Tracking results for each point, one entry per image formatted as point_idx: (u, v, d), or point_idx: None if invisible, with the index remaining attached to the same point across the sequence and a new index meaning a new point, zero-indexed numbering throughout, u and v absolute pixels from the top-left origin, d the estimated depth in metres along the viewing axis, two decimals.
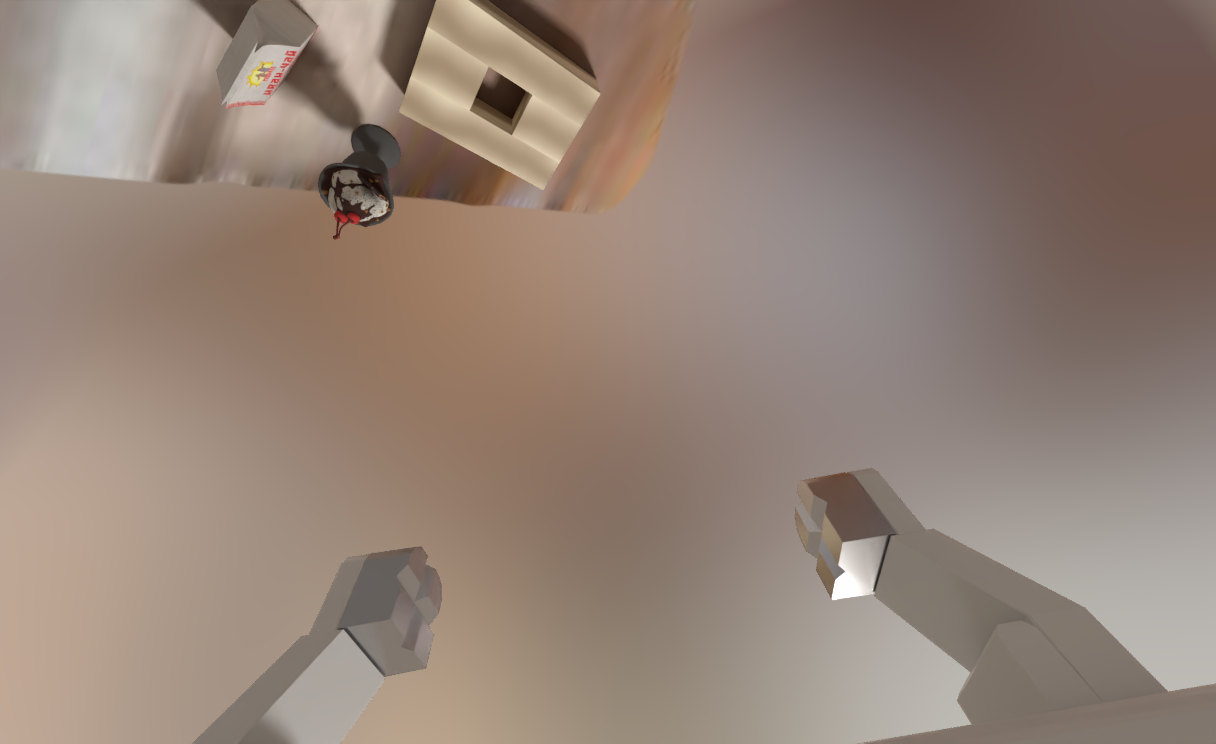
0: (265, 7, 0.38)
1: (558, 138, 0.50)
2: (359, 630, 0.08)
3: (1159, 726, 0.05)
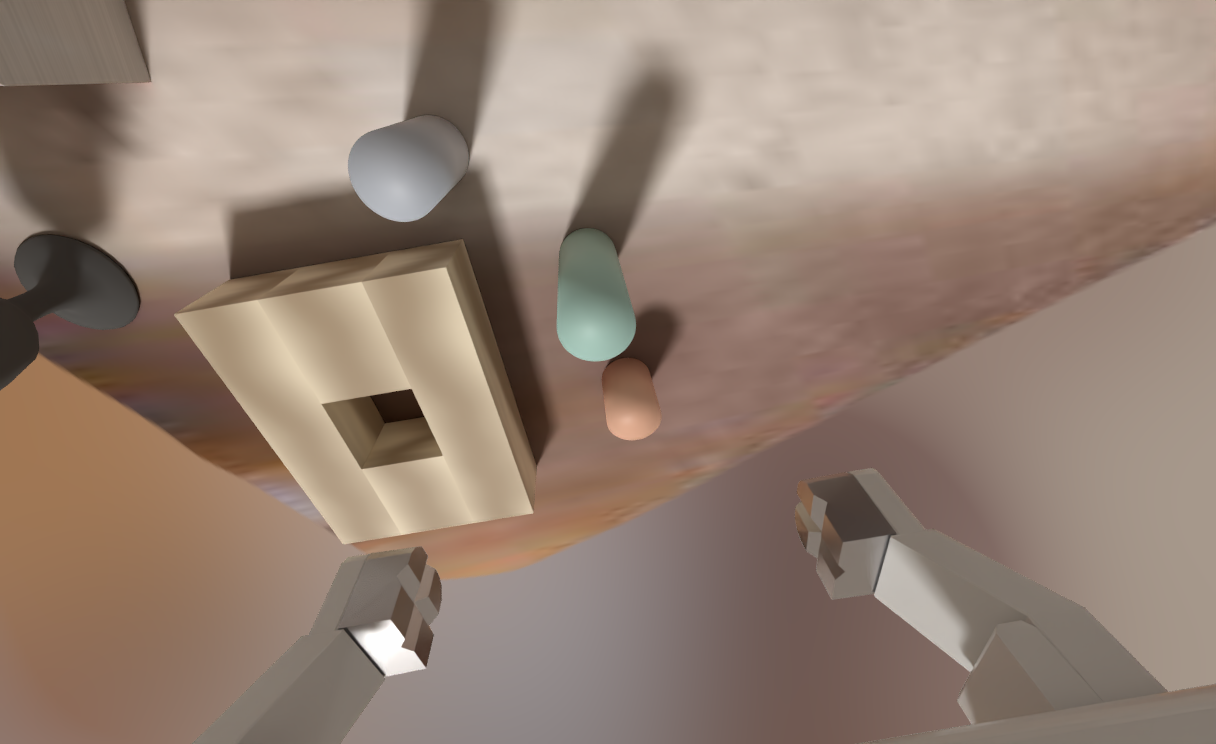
0: None
1: (430, 514, 0.28)
2: (359, 630, 0.08)
3: (1159, 726, 0.05)
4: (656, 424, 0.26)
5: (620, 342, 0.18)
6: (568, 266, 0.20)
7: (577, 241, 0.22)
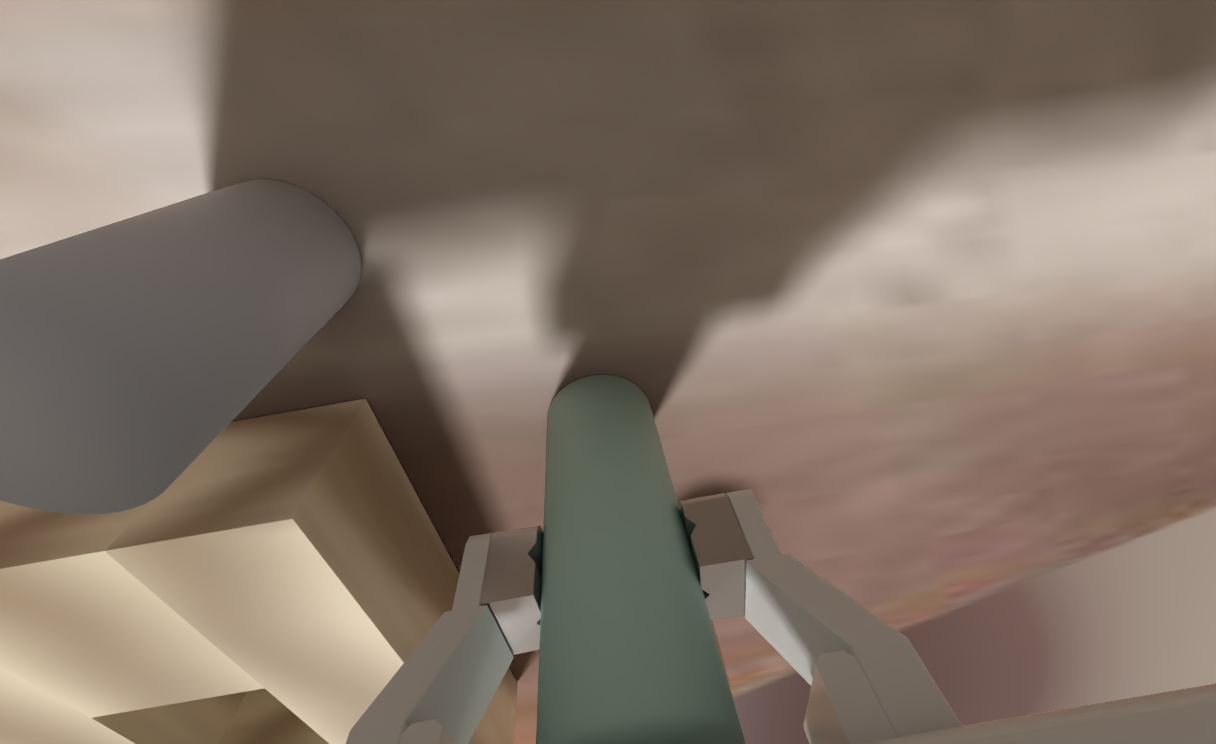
0: None
1: None
2: (500, 606, 0.08)
3: (1159, 726, 0.05)
4: None
5: None
6: (565, 517, 0.09)
7: (582, 419, 0.11)
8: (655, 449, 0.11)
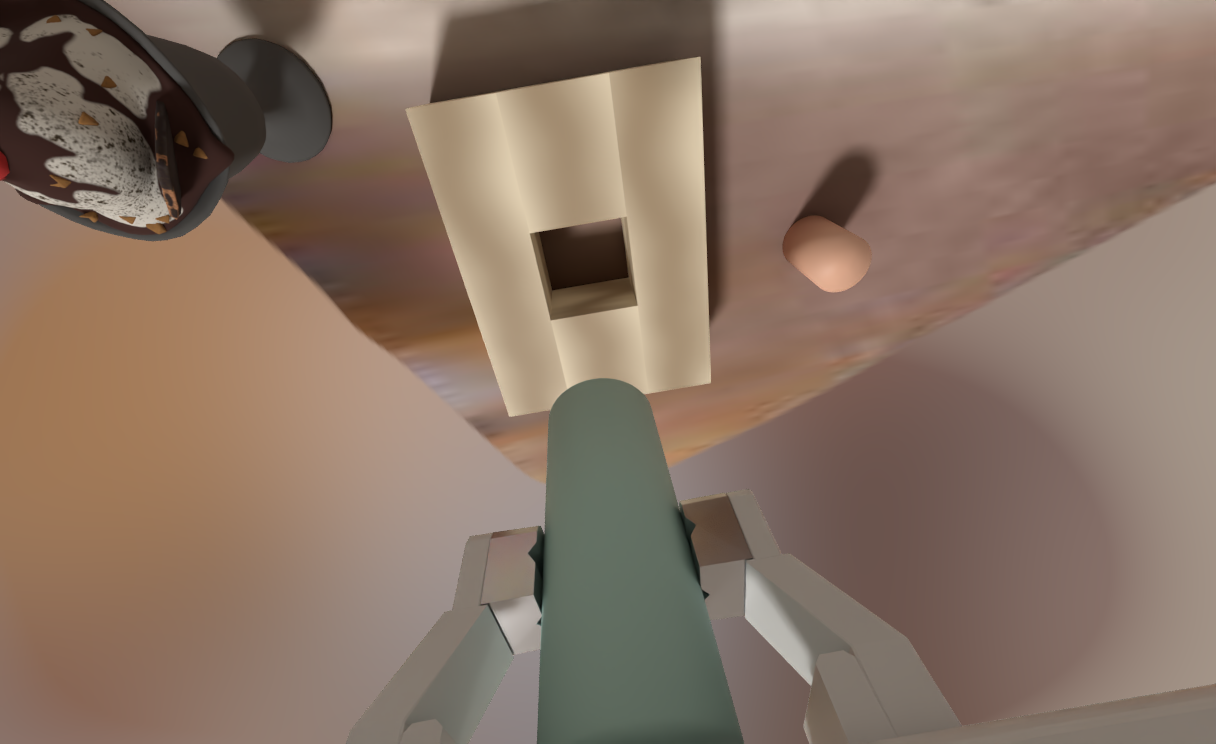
0: None
1: None
2: (500, 606, 0.08)
3: (1159, 726, 0.05)
4: (862, 273, 0.24)
5: None
6: (566, 521, 0.09)
7: (583, 422, 0.11)
8: (656, 453, 0.11)
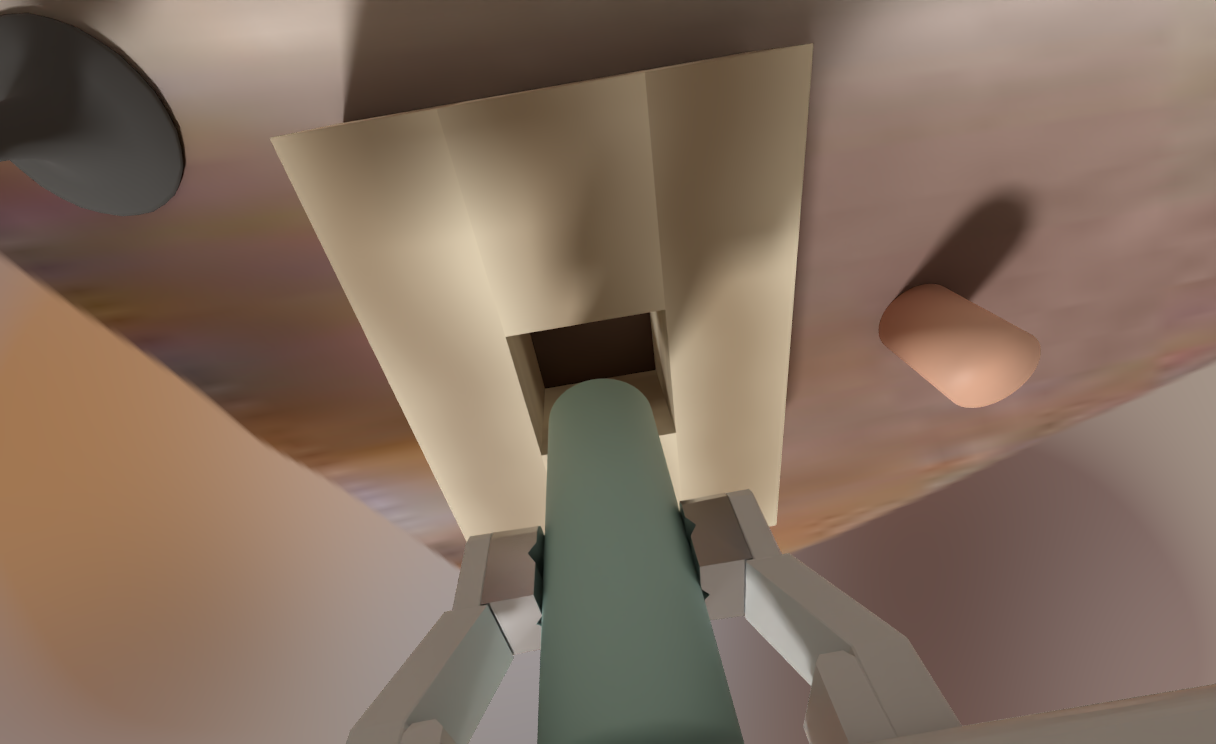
0: None
1: None
2: (500, 606, 0.08)
3: (1159, 726, 0.05)
4: (1021, 381, 0.16)
5: None
6: (566, 521, 0.09)
7: (583, 422, 0.11)
8: (656, 453, 0.11)
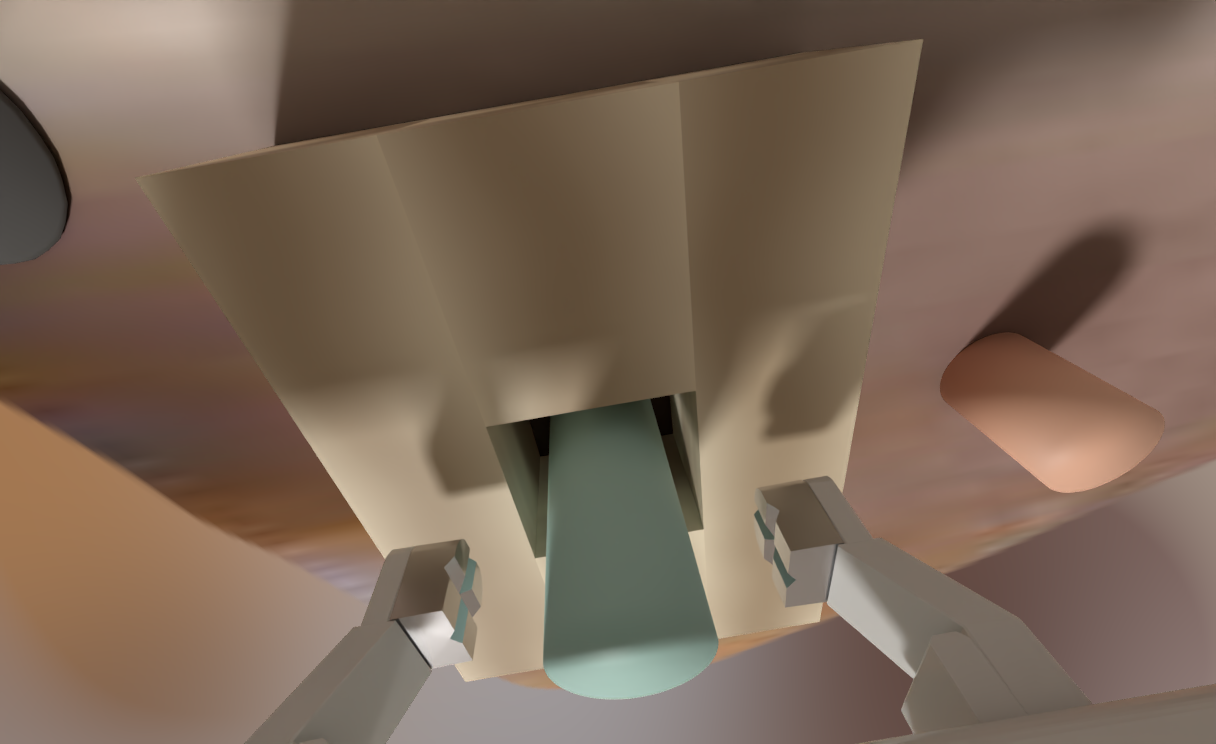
0: None
1: None
2: (410, 621, 0.08)
3: (1159, 726, 0.05)
4: (1134, 462, 0.13)
5: (681, 672, 0.08)
6: (567, 465, 0.10)
7: None
8: (648, 413, 0.12)
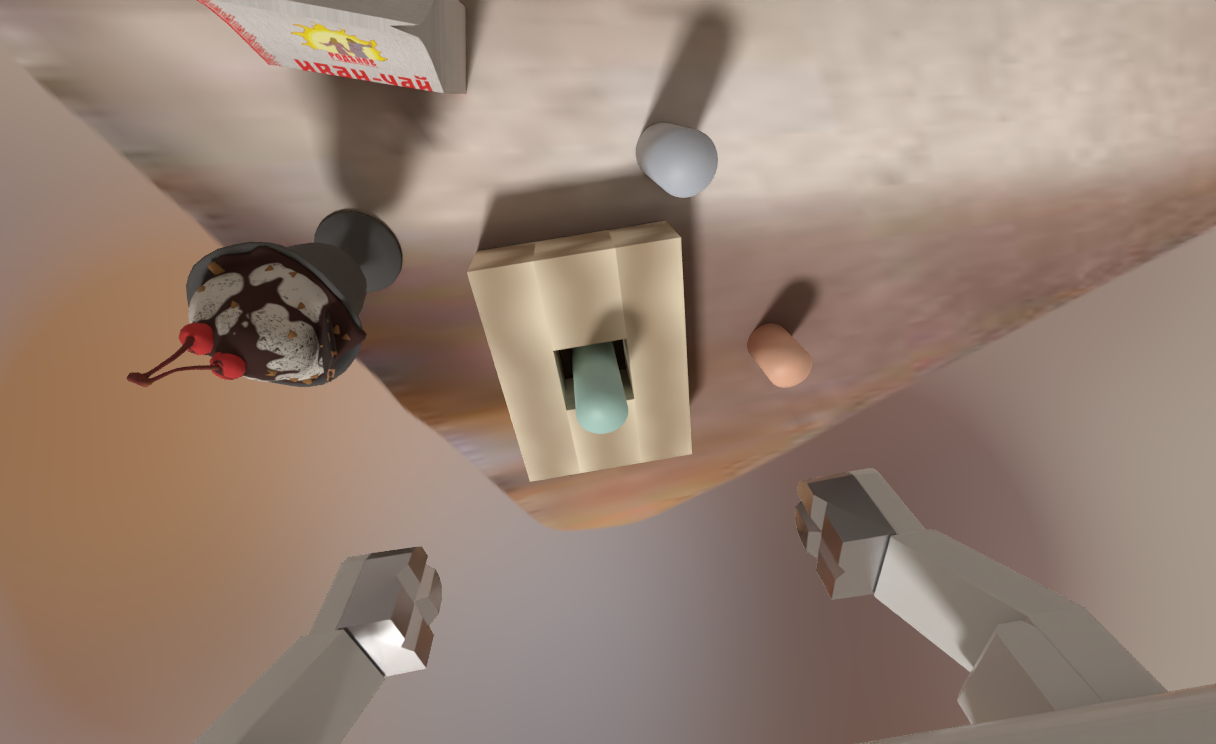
0: (449, 8, 0.20)
1: (609, 453, 0.33)
2: (359, 630, 0.08)
3: (1159, 726, 0.05)
4: (806, 373, 0.32)
5: (618, 421, 0.27)
6: (581, 365, 0.29)
7: None
8: (611, 351, 0.31)
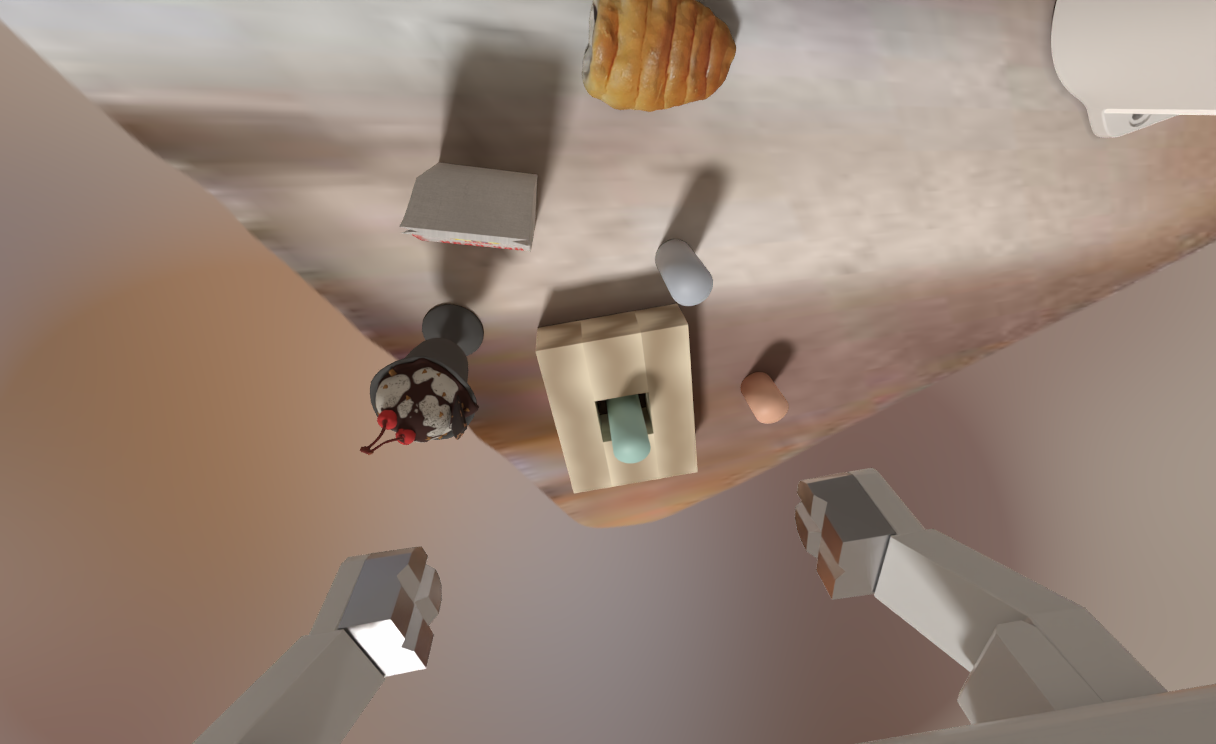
0: (534, 195, 0.30)
1: (634, 472, 0.44)
2: (359, 630, 0.08)
3: (1159, 726, 0.05)
4: (784, 413, 0.42)
5: (643, 455, 0.37)
6: (615, 411, 0.39)
7: None
8: (636, 398, 0.41)
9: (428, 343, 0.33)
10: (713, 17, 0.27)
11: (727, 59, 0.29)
